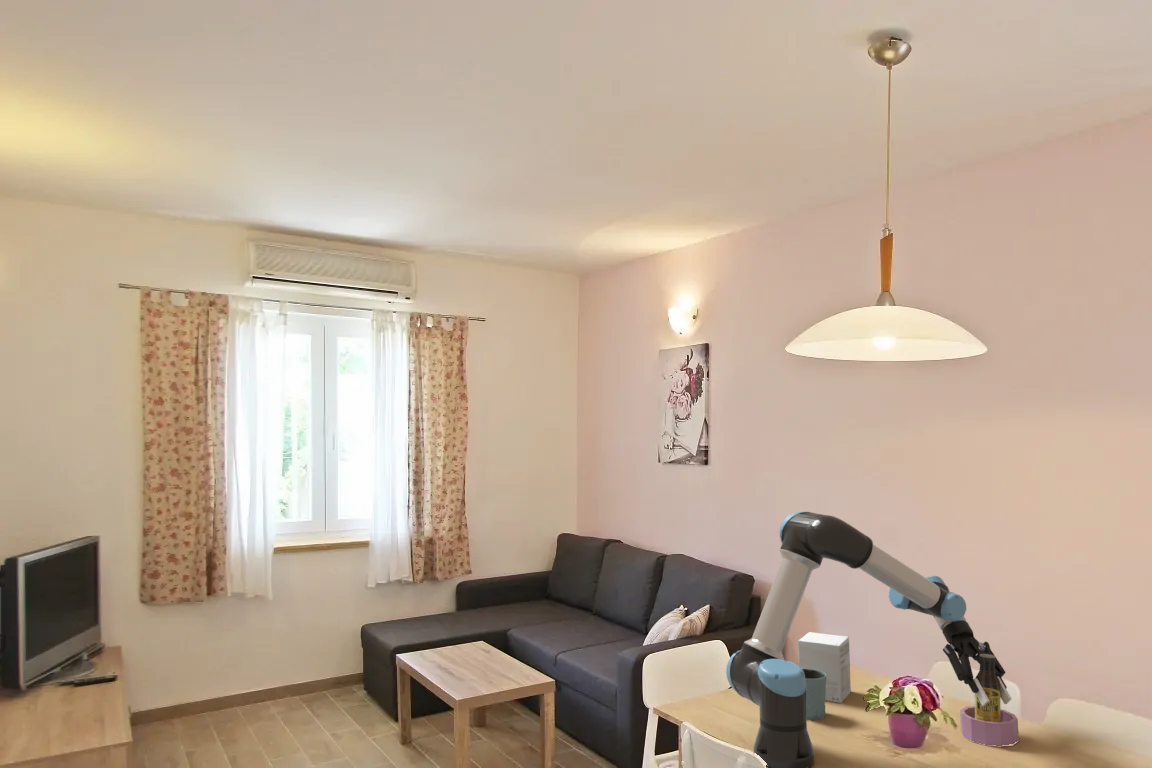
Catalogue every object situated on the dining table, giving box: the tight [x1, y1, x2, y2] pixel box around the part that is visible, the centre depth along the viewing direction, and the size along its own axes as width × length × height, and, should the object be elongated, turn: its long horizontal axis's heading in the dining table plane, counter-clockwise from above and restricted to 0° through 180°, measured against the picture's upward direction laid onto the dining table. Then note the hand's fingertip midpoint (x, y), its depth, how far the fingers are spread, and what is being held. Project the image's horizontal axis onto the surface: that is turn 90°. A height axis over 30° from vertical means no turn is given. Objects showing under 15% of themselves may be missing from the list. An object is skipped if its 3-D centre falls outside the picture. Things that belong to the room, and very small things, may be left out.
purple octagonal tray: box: [959, 705, 1020, 746], centre depth 216 cm, size 14×14×6 cm
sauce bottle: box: [974, 654, 1001, 722], centre depth 217 cm, size 7×6×20 cm
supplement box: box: [797, 631, 852, 704], centre depth 254 cm, size 13×13×18 cm
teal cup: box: [802, 668, 827, 721], centre depth 235 cm, size 10×10×12 cm
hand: (996, 702), depth 213 cm, fingers closed on sauce bottle, 6 cm apart
